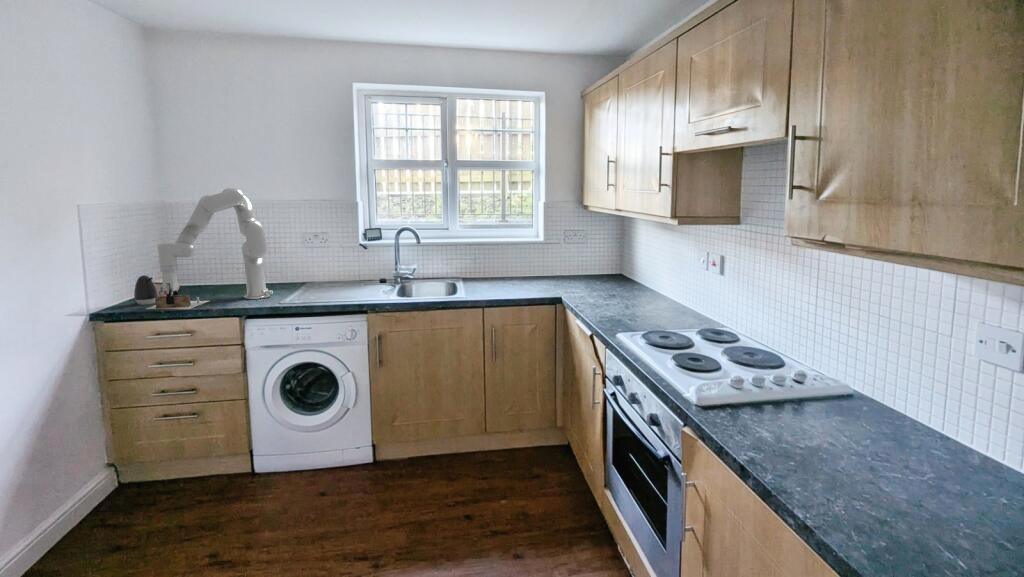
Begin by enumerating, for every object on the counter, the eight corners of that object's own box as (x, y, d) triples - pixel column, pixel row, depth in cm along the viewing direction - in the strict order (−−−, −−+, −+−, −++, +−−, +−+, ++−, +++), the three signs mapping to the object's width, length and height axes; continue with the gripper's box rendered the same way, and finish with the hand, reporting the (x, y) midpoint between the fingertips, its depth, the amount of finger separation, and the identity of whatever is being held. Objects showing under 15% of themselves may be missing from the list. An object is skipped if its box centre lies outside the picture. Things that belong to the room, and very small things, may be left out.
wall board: (210, 301, 292) (209, 295, 291) (189, 310, 273) (188, 303, 272) (168, 301, 292) (167, 295, 291) (145, 310, 273) (144, 302, 272)
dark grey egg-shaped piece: (146, 307, 279) (142, 277, 276) (130, 306, 282) (126, 276, 279) (163, 303, 289) (160, 274, 286) (148, 301, 292) (144, 273, 289)
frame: (190, 304, 283) (189, 294, 282) (188, 306, 278) (187, 296, 277) (159, 306, 279) (158, 296, 278) (156, 308, 273) (154, 298, 272)
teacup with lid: (158, 299, 297) (156, 278, 294) (152, 297, 302) (150, 276, 300) (183, 296, 305) (180, 275, 303) (177, 294, 311) (174, 273, 309)
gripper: (164, 266, 281) (168, 299, 284) (155, 271, 265) (159, 306, 268) (181, 265, 284) (184, 298, 287) (173, 270, 268) (177, 305, 271)
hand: (172, 302), depth 278 cm, fingers open, 9 cm apart
